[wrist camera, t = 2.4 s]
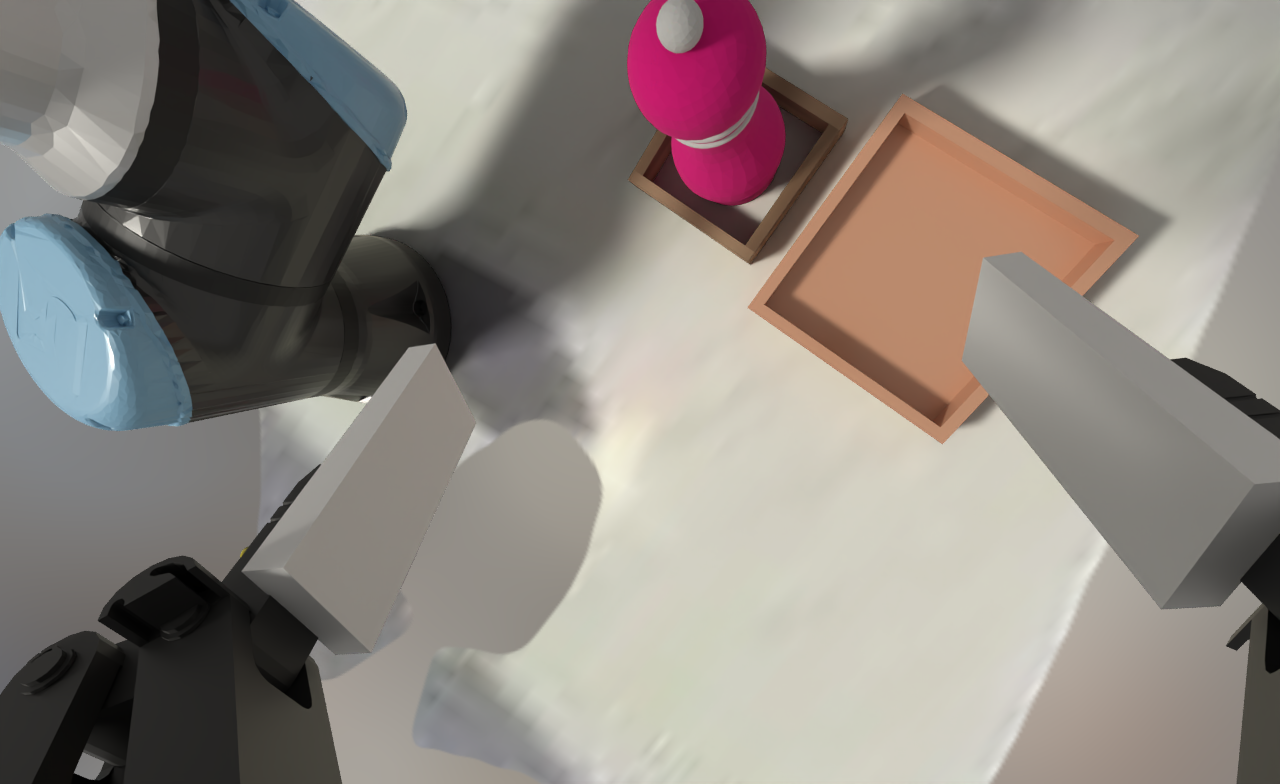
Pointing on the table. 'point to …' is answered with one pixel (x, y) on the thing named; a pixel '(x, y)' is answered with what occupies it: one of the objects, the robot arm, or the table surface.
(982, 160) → the terracotta tray
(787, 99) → the small wooden tray
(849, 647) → the table surface
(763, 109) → the pepper mill
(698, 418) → the table surface
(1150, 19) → the table surface
